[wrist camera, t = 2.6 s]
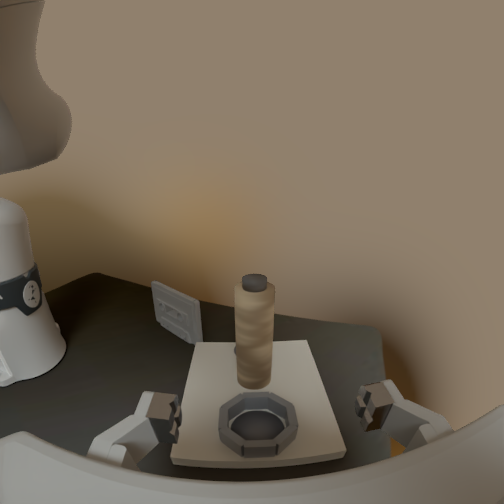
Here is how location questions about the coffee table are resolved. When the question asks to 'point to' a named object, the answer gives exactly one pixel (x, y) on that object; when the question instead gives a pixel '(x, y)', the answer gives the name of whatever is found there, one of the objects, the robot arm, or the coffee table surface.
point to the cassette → (177, 312)
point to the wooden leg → (254, 330)
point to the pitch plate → (255, 412)
